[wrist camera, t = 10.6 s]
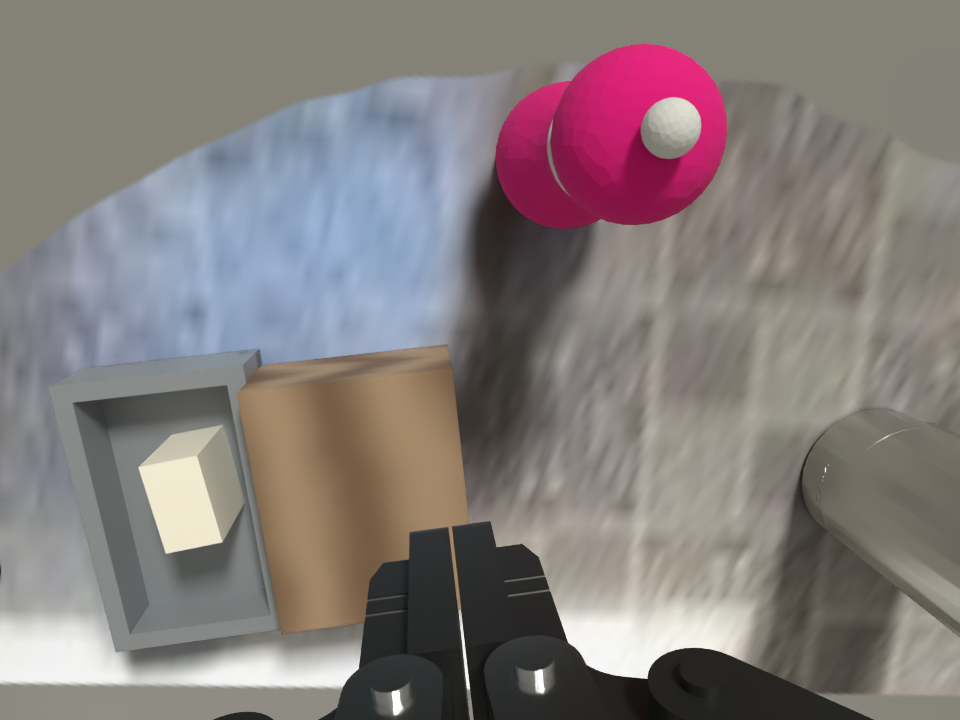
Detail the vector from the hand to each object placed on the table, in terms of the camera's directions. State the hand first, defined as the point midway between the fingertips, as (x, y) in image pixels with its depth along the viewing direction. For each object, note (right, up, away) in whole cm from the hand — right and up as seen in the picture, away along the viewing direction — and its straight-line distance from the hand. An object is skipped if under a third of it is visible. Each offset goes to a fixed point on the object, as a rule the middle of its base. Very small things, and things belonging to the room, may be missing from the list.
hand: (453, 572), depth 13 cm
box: (-17, -4, +29) cm, 34 cm away
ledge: (-6, -3, +30) cm, 31 cm away
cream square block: (-14, -3, +26) cm, 29 cm away
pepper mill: (+4, +15, +27) cm, 31 cm away
